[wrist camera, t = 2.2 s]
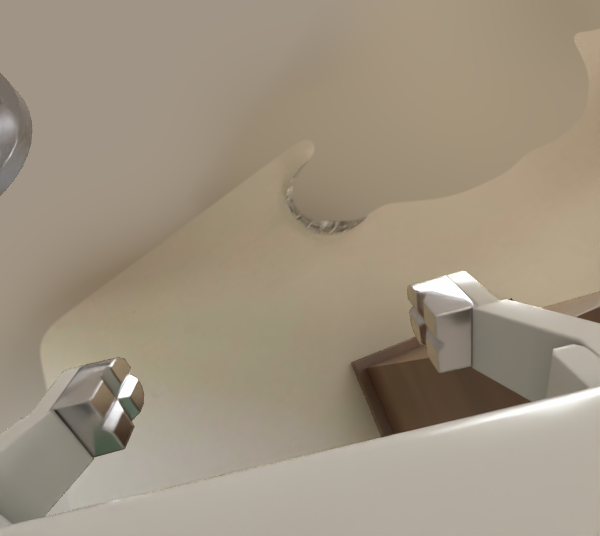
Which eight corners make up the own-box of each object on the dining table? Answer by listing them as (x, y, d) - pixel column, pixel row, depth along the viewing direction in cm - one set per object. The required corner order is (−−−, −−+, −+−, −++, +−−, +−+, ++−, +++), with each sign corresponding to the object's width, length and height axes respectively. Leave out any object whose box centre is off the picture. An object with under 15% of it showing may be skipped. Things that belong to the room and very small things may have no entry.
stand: (391, 461, 33) (723, 687, 8) (350, 362, 36) (512, 319, 11) (553, 384, 37) (1120, 388, 12) (505, 300, 39) (884, 163, 15)
